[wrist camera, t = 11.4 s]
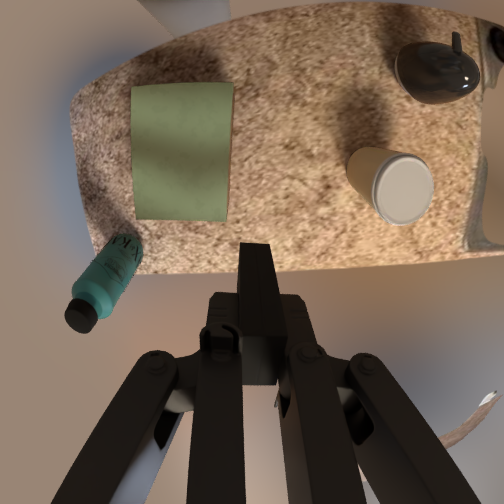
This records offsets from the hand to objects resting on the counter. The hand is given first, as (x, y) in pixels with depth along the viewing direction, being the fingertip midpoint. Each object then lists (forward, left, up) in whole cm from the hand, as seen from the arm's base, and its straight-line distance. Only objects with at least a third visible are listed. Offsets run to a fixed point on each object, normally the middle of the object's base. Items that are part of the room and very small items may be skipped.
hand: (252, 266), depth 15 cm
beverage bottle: (+13, -19, -28) cm, 36 cm away
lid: (-3, -8, -19) cm, 21 cm away
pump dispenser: (-20, +25, -28) cm, 42 cm away
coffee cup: (-2, +19, -28) cm, 34 cm away
